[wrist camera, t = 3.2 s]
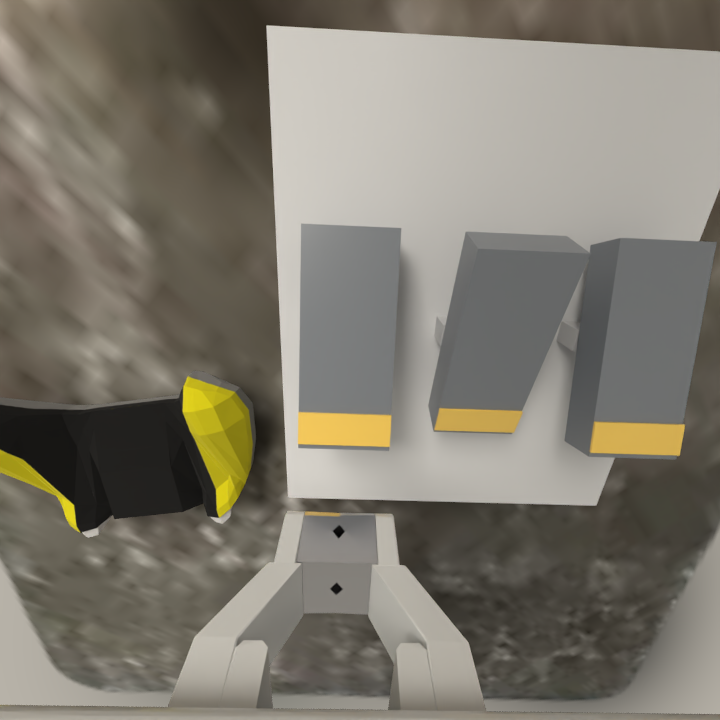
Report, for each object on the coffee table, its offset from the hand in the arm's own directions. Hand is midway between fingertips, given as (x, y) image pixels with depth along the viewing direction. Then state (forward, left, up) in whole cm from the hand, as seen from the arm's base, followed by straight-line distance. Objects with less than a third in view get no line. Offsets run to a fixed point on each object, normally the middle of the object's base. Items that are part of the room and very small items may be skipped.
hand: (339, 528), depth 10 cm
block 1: (-4, 0, -5) cm, 6 cm away
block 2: (-4, +11, -5) cm, 13 cm away
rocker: (-4, +5, -5) cm, 8 cm away
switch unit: (-4, +5, -13) cm, 14 cm away
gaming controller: (+5, -12, -13) cm, 19 cm away
